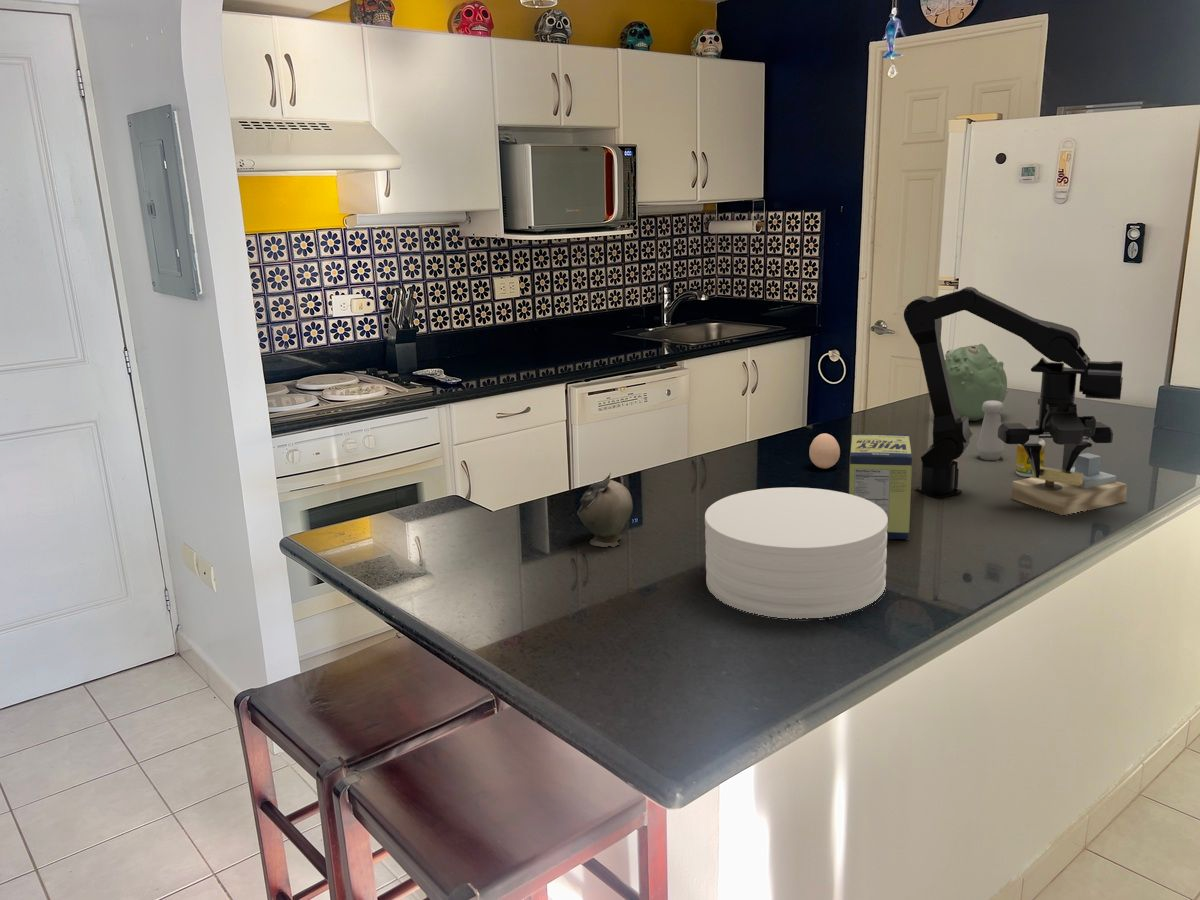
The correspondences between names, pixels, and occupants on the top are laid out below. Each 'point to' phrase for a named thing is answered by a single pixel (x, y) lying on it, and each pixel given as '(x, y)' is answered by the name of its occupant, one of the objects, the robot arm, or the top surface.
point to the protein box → (884, 477)
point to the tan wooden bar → (1059, 476)
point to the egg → (824, 451)
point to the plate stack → (796, 552)
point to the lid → (1091, 471)
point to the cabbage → (975, 379)
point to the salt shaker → (990, 432)
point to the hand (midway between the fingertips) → (1050, 477)
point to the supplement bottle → (1027, 460)
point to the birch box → (1067, 495)
